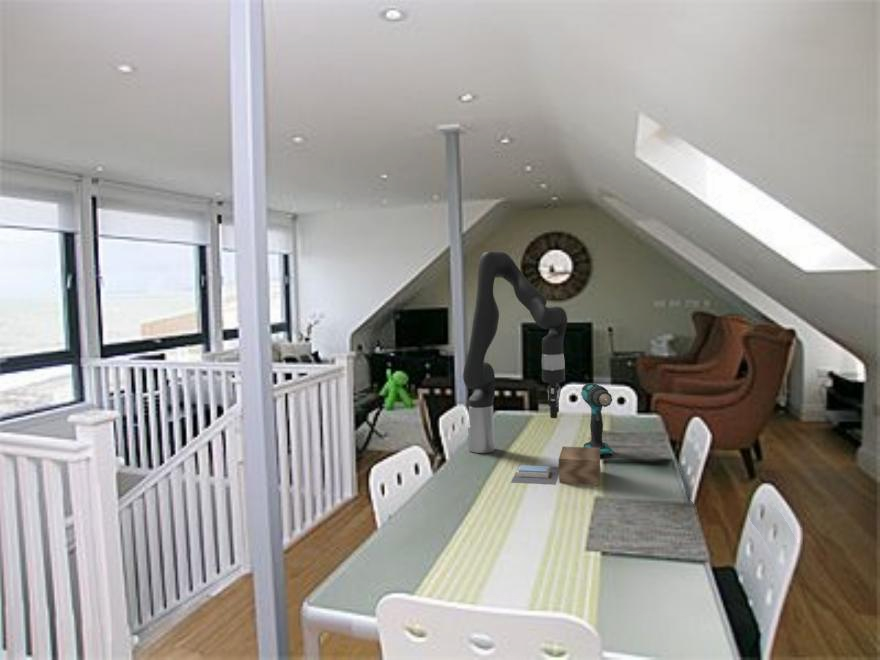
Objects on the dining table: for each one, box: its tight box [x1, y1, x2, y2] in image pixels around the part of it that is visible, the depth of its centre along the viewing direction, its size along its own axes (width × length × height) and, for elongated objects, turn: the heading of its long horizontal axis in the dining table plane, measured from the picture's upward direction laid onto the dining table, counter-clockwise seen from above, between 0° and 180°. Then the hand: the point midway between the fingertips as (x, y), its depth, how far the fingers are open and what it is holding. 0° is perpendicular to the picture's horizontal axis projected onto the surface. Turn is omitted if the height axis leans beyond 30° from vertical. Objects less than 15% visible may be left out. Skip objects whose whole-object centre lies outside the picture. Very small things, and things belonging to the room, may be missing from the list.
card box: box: [516, 464, 550, 478], centre depth 203 cm, size 10×6×2 cm, turn 74°
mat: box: [510, 464, 559, 486], centre depth 203 cm, size 14×18×1 cm
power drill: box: [580, 382, 613, 455], centre depth 223 cm, size 26×9×25 cm, turn 179°
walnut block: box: [558, 446, 601, 487], centre depth 199 cm, size 12×14×8 cm
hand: (554, 415), depth 208 cm, fingers open, 8 cm apart
